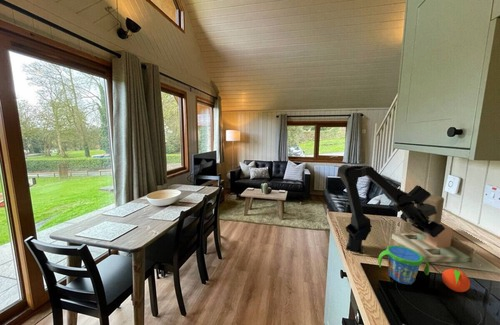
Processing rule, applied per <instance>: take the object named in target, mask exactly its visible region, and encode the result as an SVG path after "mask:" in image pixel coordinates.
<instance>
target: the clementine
mask: <svg viewBox="0 0 500 325" xmlns="http://www.w3.org/2000/svg"><path fill="white" fill-rule="evenodd" d="M441 278H442V281H443V283H444V285H445V286H446V287H447V288H449V289H450V290H452V291H453V292H457V293H464V292H467V291H468V290H470V287H471V280H470V278H469V277H468V276H467V275H466V274H465V273H464V272H462V271H461V270H460V269H456V268H447V269H445V270H444V271H443V272H442V274H441Z"/></svg>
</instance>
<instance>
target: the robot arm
mask: <svg viewBox="0 0 500 325" xmlns="http://www.w3.org/2000/svg"><path fill="white" fill-rule="evenodd" d="M337 171H338V172H337V173H338V175H339V178H340V180H341V181H342V182H343V185H344V187H345V190H346V194H347V200H348V203H349V208H350V211H351V216H350V223H349V224H348V225H346V226H345V231H346V233H348V240H347V244H346V246H345V249H346V250H348V251H351V250H352V251H351V252H354V251H356V252H355V253H358V252H359V254H362V253H363V249H364V246H363V241H366V240H367V238H368V236H369V234H370V232H371V231H372V228H373V226H372V223H371V219H370V218H369V217H368V216H367V215H366V214H365V213H364V210H363V206H362V203H361V202H362V201H361V197H360V194H359V189H358V183H359V182H358V181H359V178H363V177H367V179H369V180H370V181H371V182H373V183H374V185H375V186H377V187H378V188H379V189H381V191H382V193H383V194H384V196H385V197H386V198H387V200H389V201H391V202H393V203H395V204H393V206H392V210H394V211H395V212H397V213H399V212H402V213H401V214H400V216H399V217H400V219H401V220H402V221H403V222H405V223H407V222H409V223H410V224H411V226H414V227H415V228H417V229H419V230H421V231H422V232H425V233H427V234H428V235H430V236H431V237H436V236H437V235H439V234H440V233H441V232H442V231H443V230H445V227H444V226H443V225H442V224H443V223H442V224H440V223H438V222H436V221H432V222H431V221H430V220H428V219H429V217H428V216H431V215H433V214H437V211H436V208H435V206H433V205H430V204H426V203H423V202H424V201H425V200H427V199H428V198H429V197H430V196H431V195H432V194H431V193H430V192H429V191H427V189H425V188H423V187H422V186H421V185H415V186H414V187H413V189H411V190H410V191H409V192H406V191H404V190H402V189H399V188H398V187H396V186H394V185H392V184H391V182H389V181H388V180H386V178H385V177H383V175H381V174H380V173H379V172H377V170H375V168H374V167H373V166H370V165H367V164H364V165H348V164H342V165H341V166H339V168H338V169H337ZM414 204H417V207H416V206H415V205H414Z"/></svg>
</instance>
